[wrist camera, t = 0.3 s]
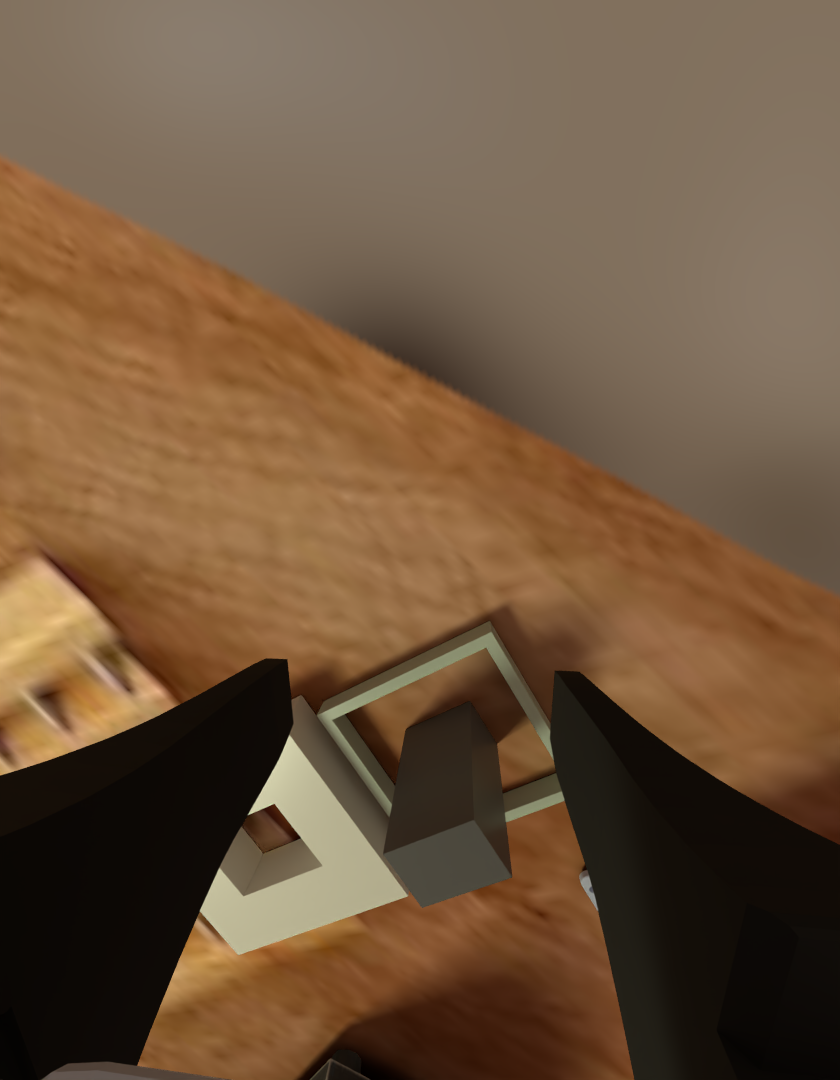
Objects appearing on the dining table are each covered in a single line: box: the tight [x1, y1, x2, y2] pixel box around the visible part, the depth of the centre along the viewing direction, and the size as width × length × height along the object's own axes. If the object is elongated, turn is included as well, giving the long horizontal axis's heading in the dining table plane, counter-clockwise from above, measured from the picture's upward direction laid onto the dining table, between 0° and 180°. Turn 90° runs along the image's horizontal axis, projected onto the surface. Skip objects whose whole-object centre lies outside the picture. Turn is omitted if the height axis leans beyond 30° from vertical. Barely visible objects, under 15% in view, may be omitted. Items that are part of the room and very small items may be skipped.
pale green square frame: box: [317, 621, 565, 822], centre depth 22 cm, size 10×10×1 cm
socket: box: [200, 695, 409, 955], centre depth 24 cm, size 12×12×2 cm
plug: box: [383, 701, 512, 908], centre depth 19 cm, size 3×4×7 cm
